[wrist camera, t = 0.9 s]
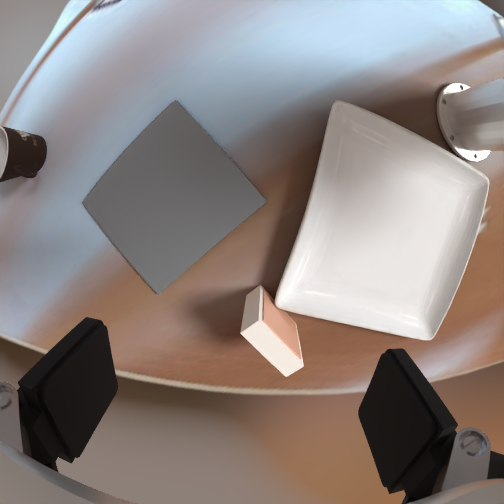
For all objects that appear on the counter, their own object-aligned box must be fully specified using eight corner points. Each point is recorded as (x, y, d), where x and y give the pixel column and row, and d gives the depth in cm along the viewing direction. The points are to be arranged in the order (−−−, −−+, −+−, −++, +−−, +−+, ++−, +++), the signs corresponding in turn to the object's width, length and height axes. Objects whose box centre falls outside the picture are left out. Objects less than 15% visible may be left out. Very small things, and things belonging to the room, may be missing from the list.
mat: (176, 100, 32) (175, 99, 31) (266, 201, 35) (266, 201, 34) (84, 202, 36) (81, 202, 35) (159, 293, 39) (158, 295, 39)
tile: (261, 283, 38) (260, 319, 28) (297, 323, 39) (305, 365, 30) (246, 295, 39) (240, 333, 29) (282, 333, 40) (286, 376, 30)
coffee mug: (16, 152, 34) (-23, 153, 24) (42, 119, 33) (1, 113, 23) (36, 203, 36) (-5, 212, 27) (64, 171, 35) (20, 174, 25)
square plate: (477, 177, 32) (492, 178, 29) (422, 331, 40) (432, 343, 36) (328, 103, 32) (335, 95, 28) (271, 297, 39) (271, 309, 35)
